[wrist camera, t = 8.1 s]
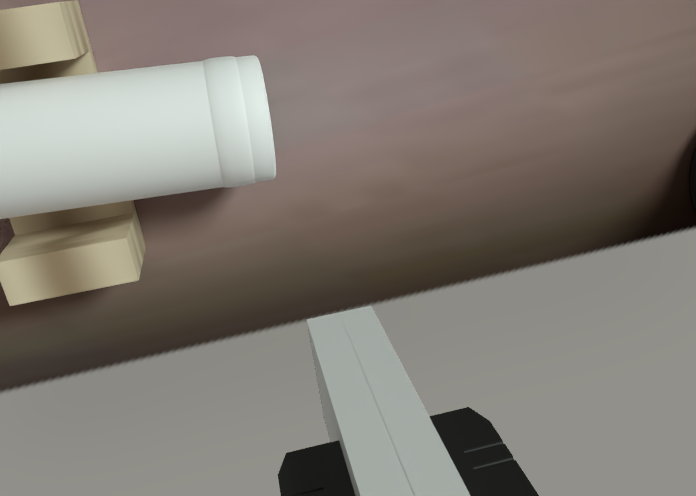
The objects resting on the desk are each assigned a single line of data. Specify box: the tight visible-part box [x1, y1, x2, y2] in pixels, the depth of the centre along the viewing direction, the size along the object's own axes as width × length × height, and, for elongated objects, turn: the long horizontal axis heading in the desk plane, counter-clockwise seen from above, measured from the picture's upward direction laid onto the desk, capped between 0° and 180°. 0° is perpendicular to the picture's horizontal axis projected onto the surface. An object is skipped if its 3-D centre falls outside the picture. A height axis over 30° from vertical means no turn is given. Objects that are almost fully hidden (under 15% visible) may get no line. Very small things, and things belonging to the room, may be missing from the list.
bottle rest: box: [0, 0, 146, 306], centre depth 41 cm, size 8×17×6 cm, turn 8°
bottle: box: [0, 55, 276, 219], centre depth 38 cm, size 8×8×30 cm
